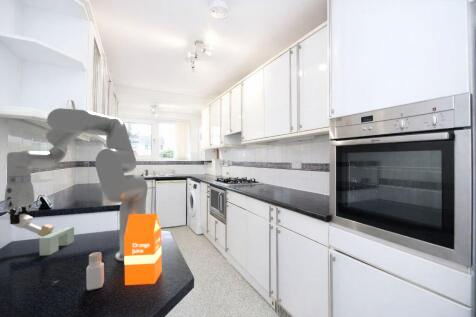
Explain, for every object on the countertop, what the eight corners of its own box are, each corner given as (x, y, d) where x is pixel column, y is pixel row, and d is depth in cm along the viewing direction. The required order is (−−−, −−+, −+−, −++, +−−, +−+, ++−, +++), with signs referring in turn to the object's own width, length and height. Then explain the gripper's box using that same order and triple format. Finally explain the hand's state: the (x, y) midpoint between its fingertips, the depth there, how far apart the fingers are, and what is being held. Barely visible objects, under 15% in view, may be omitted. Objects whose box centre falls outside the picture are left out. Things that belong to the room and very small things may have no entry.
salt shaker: (86, 291, 65) (85, 257, 65) (88, 284, 68) (88, 252, 69) (102, 288, 66) (102, 255, 67) (104, 281, 70) (103, 250, 70)
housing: (74, 241, 109) (73, 226, 109) (50, 254, 93) (50, 237, 93) (65, 242, 108) (64, 227, 109) (39, 255, 93) (39, 238, 93)
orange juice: (134, 272, 75) (133, 212, 76) (162, 271, 76) (160, 210, 76) (124, 285, 68) (123, 217, 68) (154, 283, 68) (153, 216, 69)
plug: (50, 235, 102) (55, 226, 103) (43, 237, 98) (48, 228, 99) (19, 222, 101) (24, 213, 101) (12, 224, 97) (17, 215, 97)
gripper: (11, 181, 92) (12, 227, 91) (42, 178, 108) (43, 217, 108) (-9, 182, 91) (-9, 228, 91) (25, 179, 108) (25, 218, 107)
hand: (19, 222), depth 99 cm, fingers closed on plug, 4 cm apart
